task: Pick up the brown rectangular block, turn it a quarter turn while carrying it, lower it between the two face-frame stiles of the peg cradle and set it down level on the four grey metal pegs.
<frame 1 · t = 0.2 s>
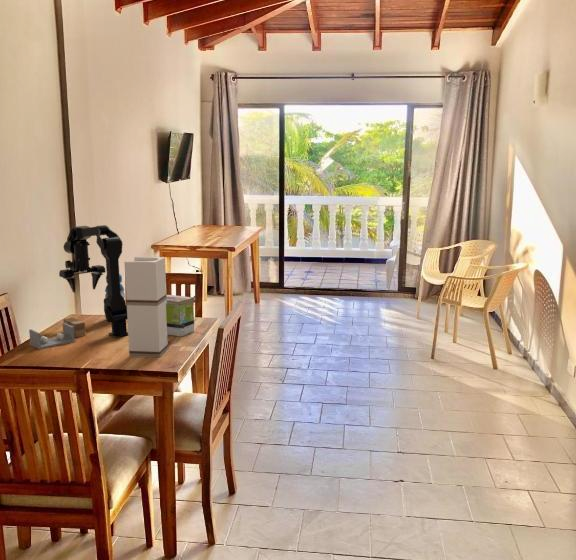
hand: (84, 290, 273), 14 cm above the table, fingers open, 9 cm apart
white banded pillar: (149, 352, 234), on the table
green and white box: (173, 332, 261), on the table
brown rectangular block: (74, 333, 259), on the table
beverage bottle: (116, 319, 282), on the table
peg cradle: (52, 343, 246), on the table
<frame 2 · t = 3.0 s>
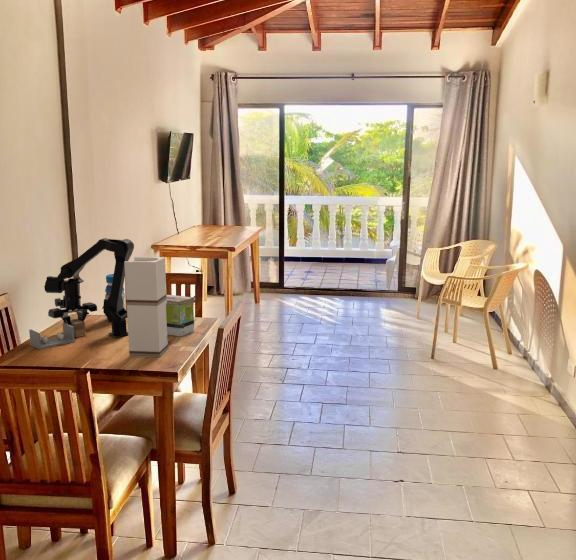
hand: (74, 330, 259), 1 cm above the table, fingers closed on brown rectangular block, 4 cm apart
brown rectangular block: (74, 333, 259), on the table, touching gripper
everything else where it was.
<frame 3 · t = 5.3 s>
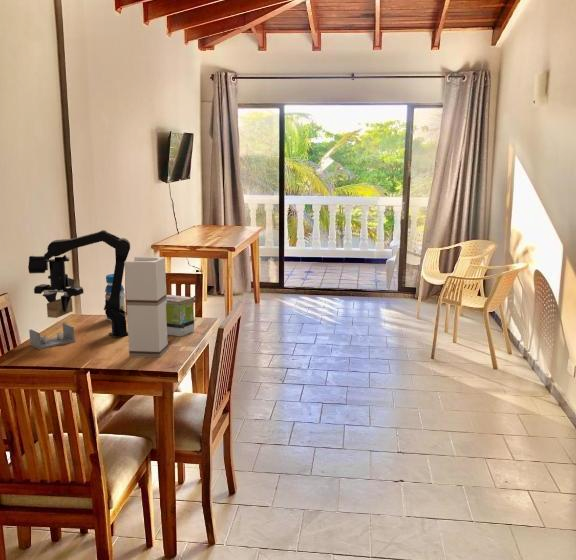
hand: (60, 311, 250), 11 cm above the table, fingers closed on brown rectangular block, 4 cm apart
brown rectangular block: (60, 314, 250), point 10 cm above the table, touching gripper
everything else where it was.
when the fingers open (5 cm above the table, at t = 7.6 s): brown rectangular block stays where it is, resting on peg cradle.
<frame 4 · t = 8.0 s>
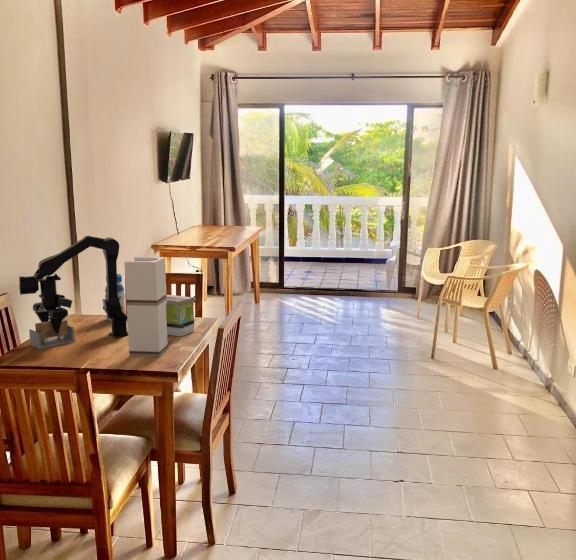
hand: (51, 331, 245), 5 cm above the table, fingers open, 9 cm apart
brown rectangular block: (52, 335, 245), point 3 cm above the table, touching peg cradle
everything else where it was.
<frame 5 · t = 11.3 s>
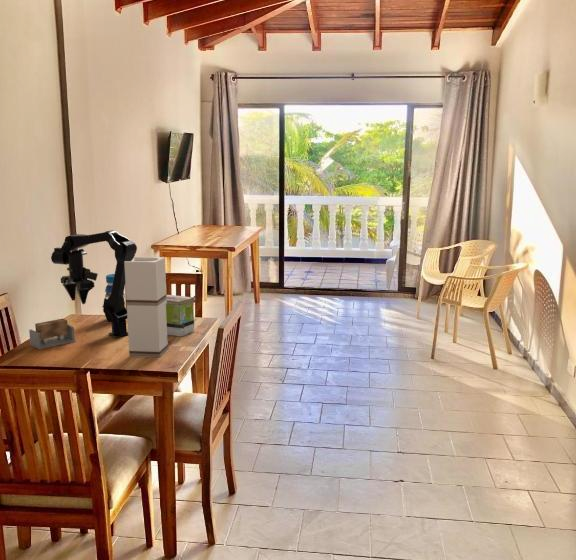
hand: (78, 302, 262), 12 cm above the table, fingers open, 9 cm apart
nothing on the table moved.
at the end: brown rectangular block 0.1 cm off-centre on the peg cradle, point 3.0 cm above the peg cradle's base; brown rectangular block tilted 0°; the gripper is holding nothing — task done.
